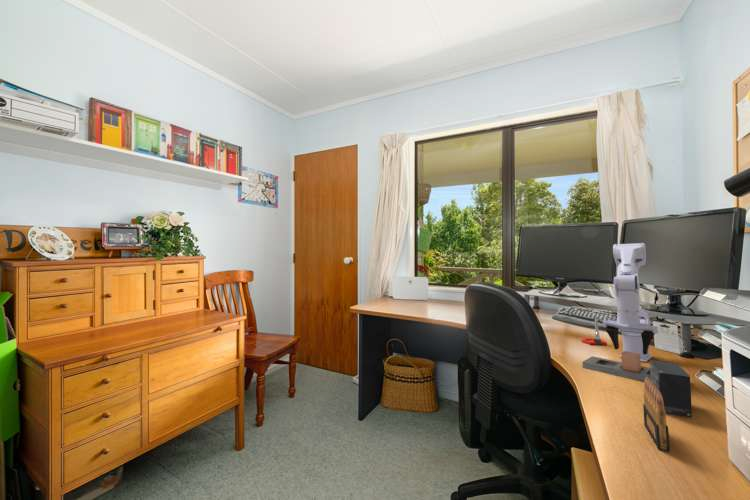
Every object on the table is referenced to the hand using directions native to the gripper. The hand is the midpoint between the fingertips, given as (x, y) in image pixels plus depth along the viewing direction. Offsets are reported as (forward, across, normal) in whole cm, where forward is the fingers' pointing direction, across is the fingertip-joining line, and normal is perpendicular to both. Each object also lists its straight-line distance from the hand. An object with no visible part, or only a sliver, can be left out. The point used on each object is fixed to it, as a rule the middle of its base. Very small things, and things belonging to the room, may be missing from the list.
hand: (630, 351), depth 104 cm
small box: (+8, +13, -20) cm, 25 cm away
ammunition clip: (+8, +14, -40) cm, 43 cm away
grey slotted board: (+8, 0, 0) cm, 8 cm away
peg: (+8, 0, 0) cm, 8 cm away
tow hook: (+8, -22, +32) cm, 40 cm away
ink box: (+8, +2, +39) cm, 40 cm away
